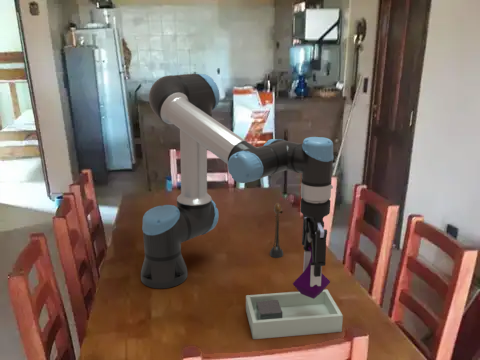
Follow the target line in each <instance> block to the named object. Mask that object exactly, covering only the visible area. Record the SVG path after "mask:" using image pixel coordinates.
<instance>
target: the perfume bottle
mask: <svg viewBox="0 0 480 360" xmlns="http://www.w3.org/2000/svg"><path fill="white" fill-rule="evenodd" d="M313 235H316V234H313ZM307 237H308V241H309V243H310V242H311V241H312V239H311V238H310V237H309V232H308V234H307ZM308 249H309V251H311V258H310V261H309V264H308V266H307V268H306V269H305V271H304V272H303V271H302V273H301V274H300V275H299V276H298V278H296V279H295V280H294V281H293V282H292V285H293V286H294V288H295V289H296V290H297V292H300V293H301V294H303V295H305V296H308V297H310V298H313V299H314V298H316V297H317V296H318V295H319V294H320V293H321V292H322V291H323V290H326V289H327V287H328V285H330V283H331V280H330V279H328V277H326V276H325V274H323V273H322V274H321V286H317V285H314V286H313V287H311V286H310V276H311V266H310V263H312V262H313V261H312V242H311V245H310V246H309V247H308Z"/></svg>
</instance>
